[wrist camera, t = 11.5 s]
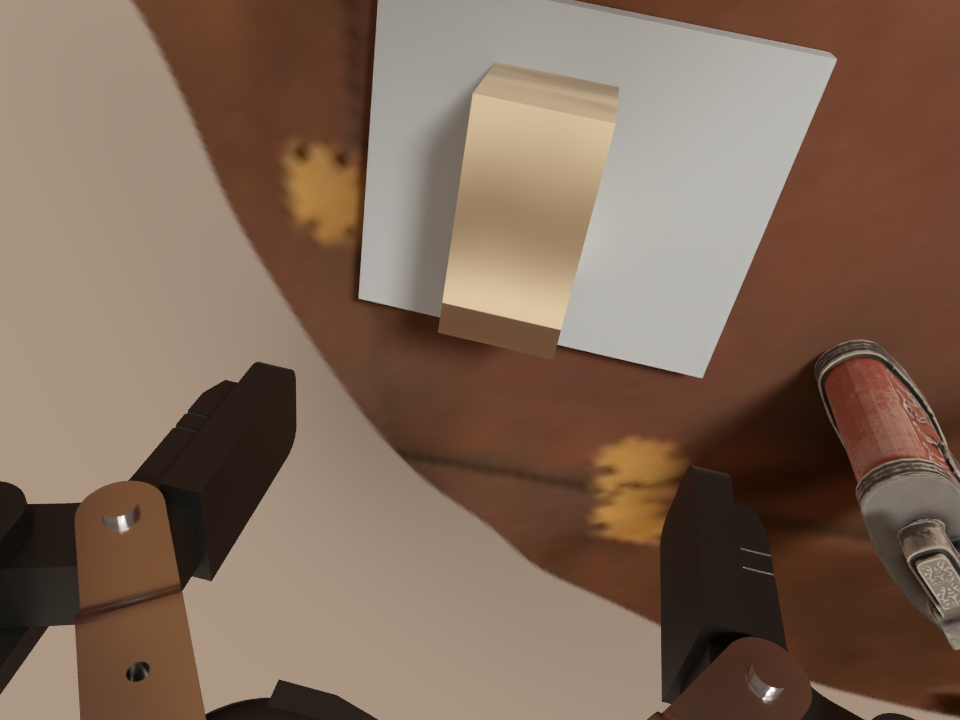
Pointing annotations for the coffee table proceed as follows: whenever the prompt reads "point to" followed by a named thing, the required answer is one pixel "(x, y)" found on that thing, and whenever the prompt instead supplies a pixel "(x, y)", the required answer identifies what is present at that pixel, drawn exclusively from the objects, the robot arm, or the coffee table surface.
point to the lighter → (899, 475)
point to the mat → (628, 169)
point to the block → (524, 205)
